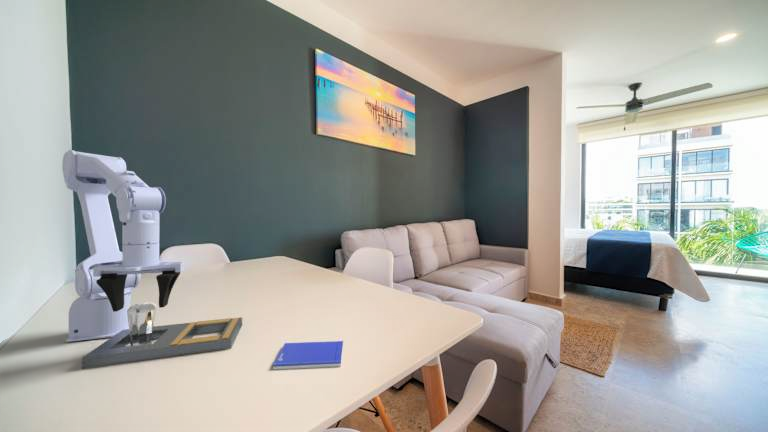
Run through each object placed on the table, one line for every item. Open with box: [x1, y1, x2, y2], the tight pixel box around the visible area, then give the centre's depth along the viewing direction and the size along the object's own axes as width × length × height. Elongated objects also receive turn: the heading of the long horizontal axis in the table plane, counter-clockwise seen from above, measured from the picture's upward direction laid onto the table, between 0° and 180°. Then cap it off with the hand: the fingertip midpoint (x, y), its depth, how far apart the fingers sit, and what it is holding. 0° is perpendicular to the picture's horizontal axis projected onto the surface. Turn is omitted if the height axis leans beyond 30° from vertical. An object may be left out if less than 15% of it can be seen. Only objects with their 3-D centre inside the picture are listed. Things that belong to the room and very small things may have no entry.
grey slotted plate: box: [81, 317, 243, 370], centre depth 57 cm, size 24×12×2 cm, turn 109°
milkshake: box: [127, 301, 157, 346], centre depth 55 cm, size 5×5×10 cm
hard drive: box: [272, 340, 344, 370], centre depth 53 cm, size 2×8×12 cm
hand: (141, 307), depth 55 cm, fingers open, 7 cm apart
